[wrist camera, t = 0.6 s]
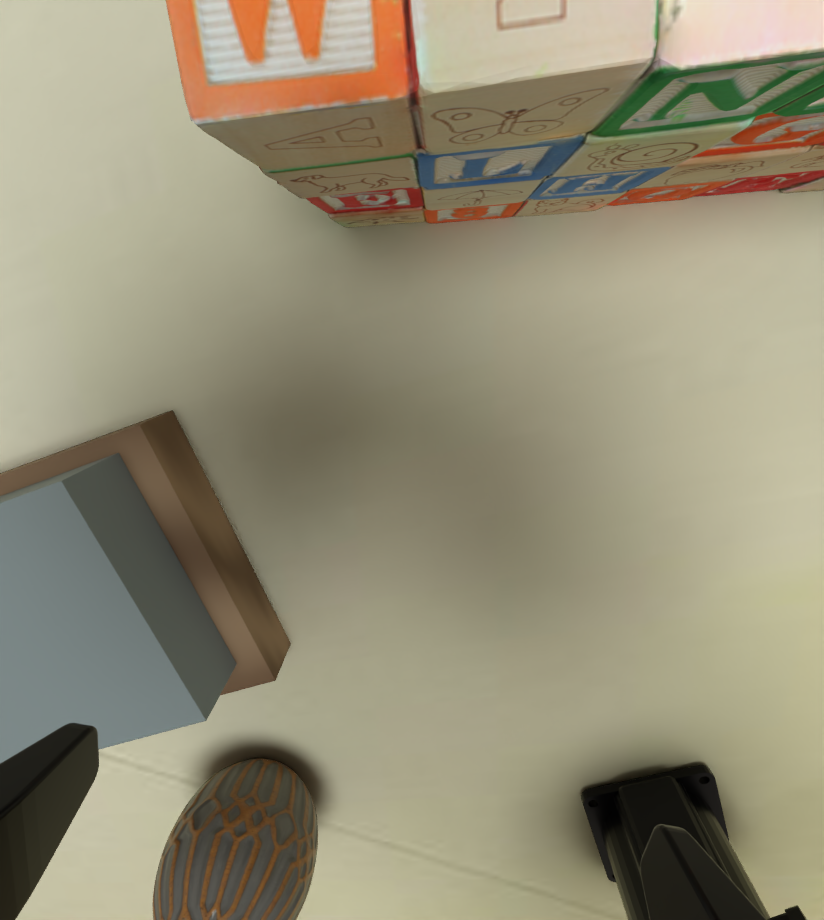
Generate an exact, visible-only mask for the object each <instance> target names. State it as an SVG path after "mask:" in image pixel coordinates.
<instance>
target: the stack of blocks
mask: <svg viewBox="0 0 824 920" xmlns="http://www.w3.org/2000/svg"><path fill="white" fill-rule="evenodd" d="M166 4H167V9H168V15H169V20H170V25H171V30H172V35H173V40H174V46H175V51H176V56H177V61H178V66H179V71H180V77H181V82H182V87H183V92H184V97H185V100H186V104H187V108H188V111H189V115H190V119H191V121H193V122H194V123H195V124H196V125H197V126H198V127H200V128H201V129H202V130H203V131H204V132H206V133H207V134H209V135H211V136H212V137H214V138H216V139H217V140H219V141H220V142H222V143H223V144H225V145H226V146H228V147H229V148H231V149H232V150H233V151H235V152H236V153H238V154H240V155H241V156H243V157H244V158H246V159H248V160H249V161H251V162H253V163H254V164H256V165H257V166H259V168H260V169H261V171H262V172H263V173H264V174H265V175H267V176H268V177H270V178H272V179H274V180H276V181H277V183H278V184H279V185H282V186H284V187H285V188H287V189H288V191H290V192H292V193H293V194H295V195H296V196H298V197H299V198H306V199H307V200H308V201H310V202H311V203H312V204H314V205H316V206H317V207H319V208H320V209H322V210H323V211H325V212H327V213H328V215H329V217H330V218H331V219H333V220H334V221H335V222H337V223H339V224H341V225H343V226H344V227H359V226H372V225H385V224H398V223H411V222H424V221H426V222H428V223H443V222H456V221H468V220H480V219H493V218H506V217H512V216H536V215H549V214H561V213H572V212H584V211H595V210H598V209H600V208H602V207H603V206H605V205H612V206H615V205H623V204H632V203H647V202H658V201H670V200H683V199H686V198H689V197H692V196H708V195H721V194H732V193H742V192H754V191H767V190H775V189H780V190H781V192H784V193H790V192H803V191H816V190H824V0H166Z"/></svg>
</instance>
